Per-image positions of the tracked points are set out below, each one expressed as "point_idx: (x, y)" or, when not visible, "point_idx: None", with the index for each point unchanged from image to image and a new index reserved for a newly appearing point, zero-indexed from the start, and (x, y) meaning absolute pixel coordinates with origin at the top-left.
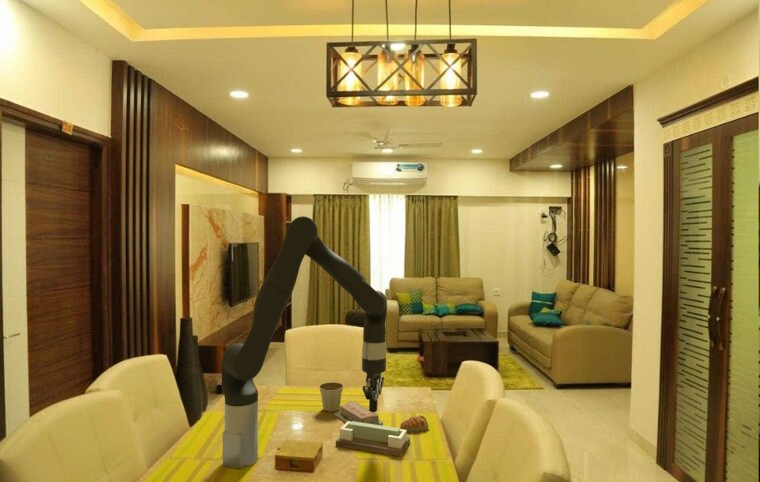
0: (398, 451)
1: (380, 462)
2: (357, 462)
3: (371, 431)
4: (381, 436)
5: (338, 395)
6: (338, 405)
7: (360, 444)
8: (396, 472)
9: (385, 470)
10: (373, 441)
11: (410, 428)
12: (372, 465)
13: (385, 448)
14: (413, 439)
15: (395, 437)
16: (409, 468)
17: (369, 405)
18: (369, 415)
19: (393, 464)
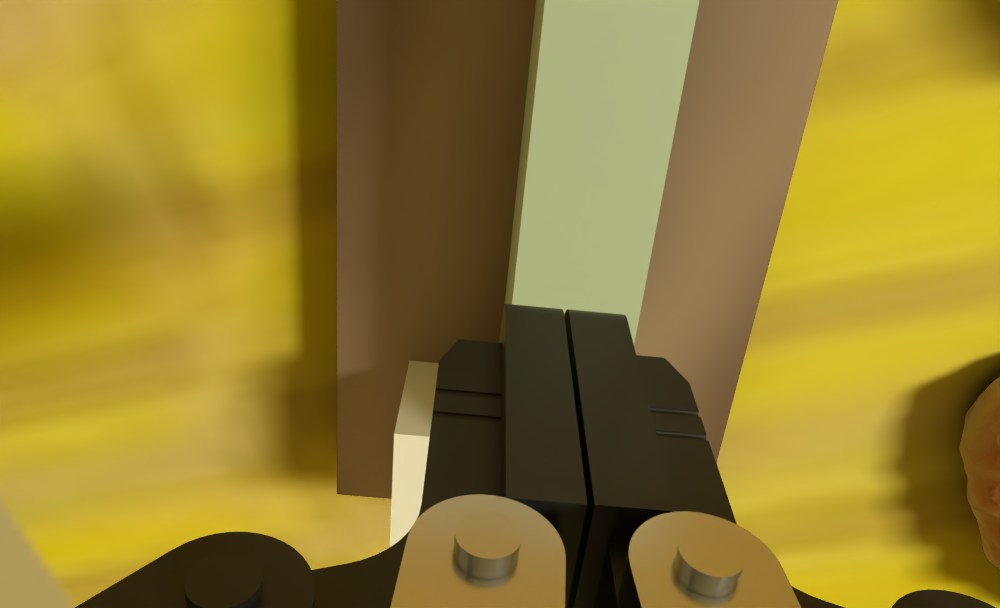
0: (339, 472)
1: (145, 309)
2: (17, 63)
3: (524, 169)
4: (508, 297)
5: None
6: None
7: (345, 6)
8: (38, 475)
9: (19, 385)
10: (494, 162)
11: (974, 489)
12: (43, 247)
13: (347, 344)
14: (768, 507)
15: (397, 513)
16: (161, 553)
17: (509, 381)
18: None
19: (166, 428)
